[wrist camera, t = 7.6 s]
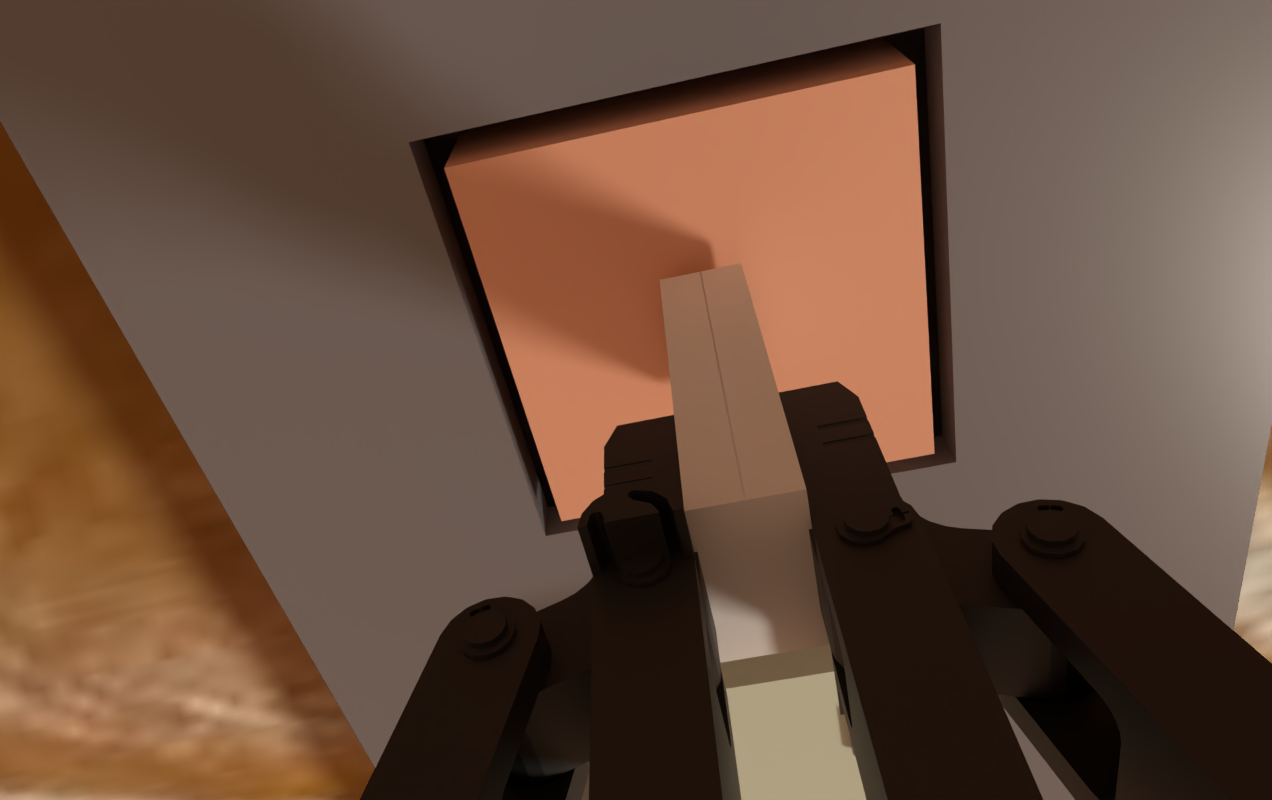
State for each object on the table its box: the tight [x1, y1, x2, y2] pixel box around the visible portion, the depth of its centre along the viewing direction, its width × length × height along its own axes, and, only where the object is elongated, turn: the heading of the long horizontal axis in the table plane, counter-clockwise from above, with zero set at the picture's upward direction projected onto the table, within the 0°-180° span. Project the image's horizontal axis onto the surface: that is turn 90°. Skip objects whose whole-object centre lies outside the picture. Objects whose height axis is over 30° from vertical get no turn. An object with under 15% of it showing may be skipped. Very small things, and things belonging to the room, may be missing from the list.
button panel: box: [0, 0, 1272, 800], centre depth 26 cm, size 22×40×5 cm, turn 12°
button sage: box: [720, 640, 866, 800], centre depth 24 cm, size 8×8×4 cm
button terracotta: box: [444, 37, 935, 521], centre depth 19 cm, size 8×8×4 cm
